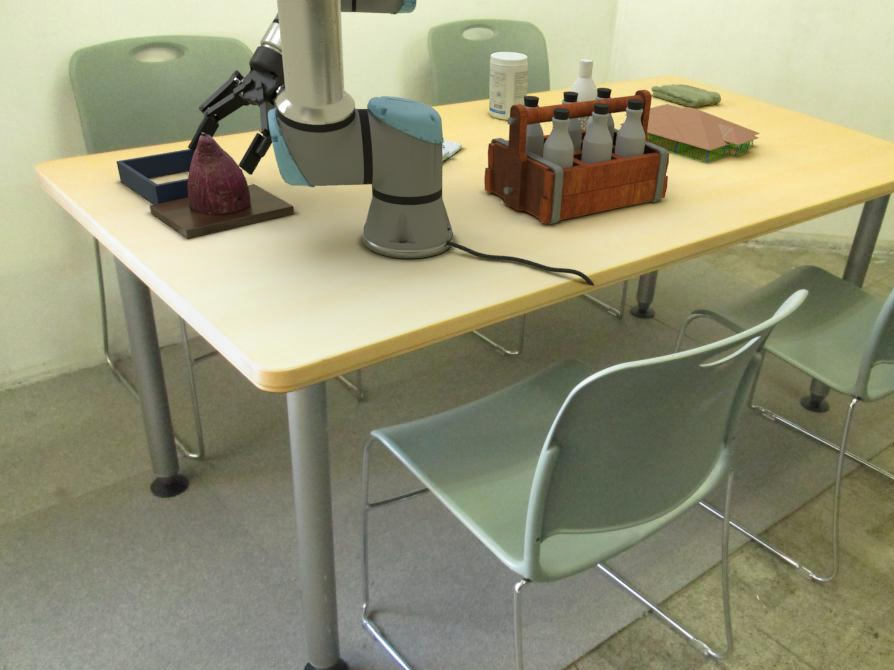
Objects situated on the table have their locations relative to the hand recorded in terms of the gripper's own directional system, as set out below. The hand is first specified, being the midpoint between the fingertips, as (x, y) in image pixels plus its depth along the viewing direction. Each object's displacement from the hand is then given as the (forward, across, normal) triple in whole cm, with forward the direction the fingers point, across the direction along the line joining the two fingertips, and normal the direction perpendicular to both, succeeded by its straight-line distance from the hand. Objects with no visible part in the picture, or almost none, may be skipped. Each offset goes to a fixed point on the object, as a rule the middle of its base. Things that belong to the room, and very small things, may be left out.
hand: (219, 161), depth 147 cm
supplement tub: (-57, +5, -71) cm, 91 cm away
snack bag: (-28, 0, -41) cm, 50 cm away
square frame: (+5, +16, -8) cm, 19 cm away
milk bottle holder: (-31, -41, -44) cm, 67 cm away
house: (-68, -38, -82) cm, 113 cm away
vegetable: (+6, 0, -5) cm, 8 cm away
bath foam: (-49, -24, -63) cm, 83 cm away
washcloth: (-95, -19, -109) cm, 146 cm away
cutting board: (+7, 0, -6) cm, 9 cm away
